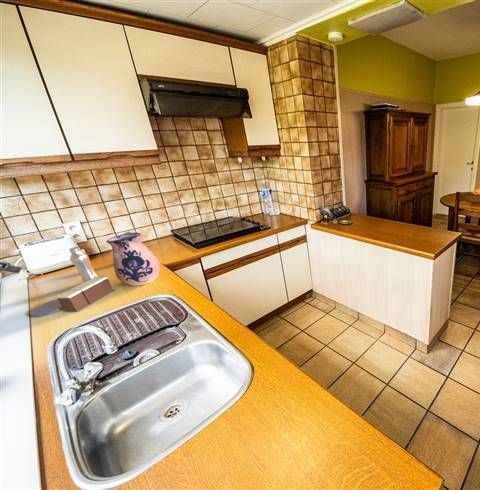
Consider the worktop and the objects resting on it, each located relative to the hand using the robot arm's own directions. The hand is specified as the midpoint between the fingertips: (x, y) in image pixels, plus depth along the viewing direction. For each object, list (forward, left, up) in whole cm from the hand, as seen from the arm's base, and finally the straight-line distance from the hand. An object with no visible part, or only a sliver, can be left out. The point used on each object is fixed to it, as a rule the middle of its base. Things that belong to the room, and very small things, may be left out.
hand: (9, 270), depth 97 cm
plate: (-1, +17, -26) cm, 31 cm away
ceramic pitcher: (+32, +18, -26) cm, 45 cm away
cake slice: (+8, +8, -26) cm, 28 cm away
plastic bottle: (+11, +35, -26) cm, 45 cm away
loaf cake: (+14, +14, -26) cm, 32 cm away
